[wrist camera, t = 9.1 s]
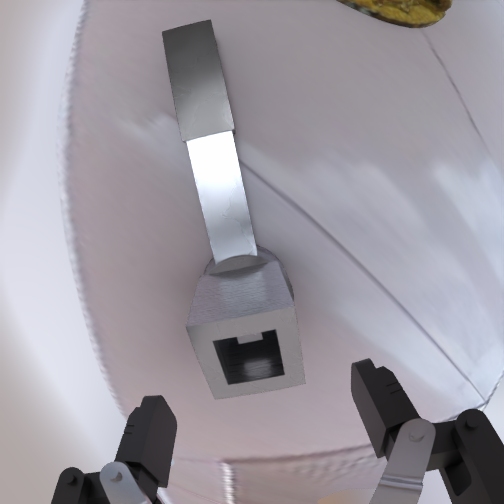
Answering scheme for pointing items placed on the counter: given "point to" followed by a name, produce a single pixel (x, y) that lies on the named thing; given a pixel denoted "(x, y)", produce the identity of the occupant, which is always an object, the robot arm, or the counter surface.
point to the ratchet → (213, 150)
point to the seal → (403, 10)
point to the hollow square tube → (246, 331)
